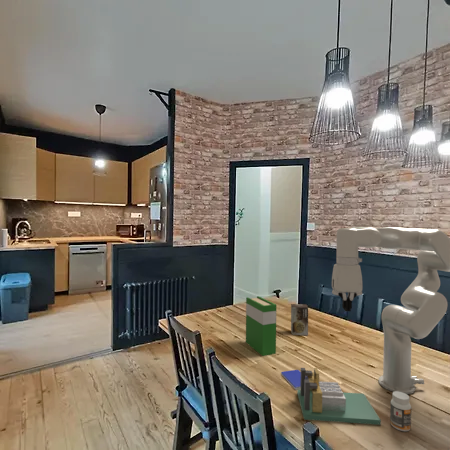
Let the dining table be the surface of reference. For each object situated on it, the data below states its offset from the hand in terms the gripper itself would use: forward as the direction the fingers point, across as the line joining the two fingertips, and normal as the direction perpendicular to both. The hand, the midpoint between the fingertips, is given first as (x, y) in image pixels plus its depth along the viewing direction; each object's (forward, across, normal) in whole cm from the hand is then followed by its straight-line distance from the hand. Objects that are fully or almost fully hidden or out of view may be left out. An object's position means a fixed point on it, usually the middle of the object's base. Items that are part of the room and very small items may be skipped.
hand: (347, 310), depth 114 cm
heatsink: (+30, +9, +9) cm, 32 cm away
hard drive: (+32, +17, -8) cm, 37 cm away
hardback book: (+32, +31, -39) cm, 59 cm away
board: (+32, +7, +9) cm, 33 cm away
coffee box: (+32, +8, -61) cm, 70 cm away
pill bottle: (+32, -11, +17) cm, 38 cm away
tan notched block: (+30, +14, +9) cm, 34 cm away
